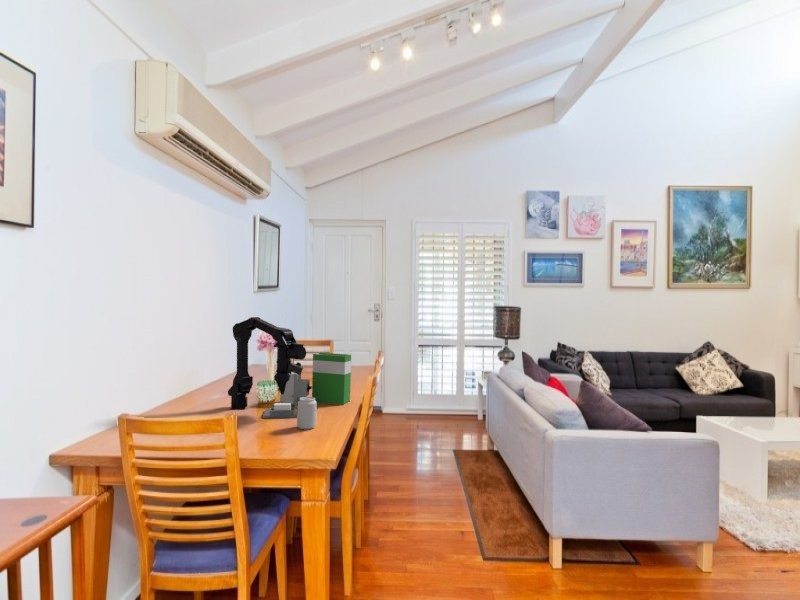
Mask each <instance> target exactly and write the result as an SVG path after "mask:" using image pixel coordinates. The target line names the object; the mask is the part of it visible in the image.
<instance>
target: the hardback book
mask: <svg viewBox="0 0 800 600" xmlns="http://www.w3.org/2000/svg"><path fill="white" fill-rule="evenodd" d="M351 377H352V354H347V353H335V352H334V353H332V352H330V353H329V352H319V353H313V354H312V379H311V380H312V382H311V383H312V384H311V386H312V389H311V397H314V398H315V401H316V402H317V403H320V404H321V403H322V404H329V405H330V404H331V405H332V404H333V405H339V404H341V406H344V404H345V405H347V404H349V403H351ZM348 402H349V403H348ZM346 403H347V404H346Z"/></svg>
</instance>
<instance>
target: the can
mask: <svg viewBox="0 0 800 600" xmlns="http://www.w3.org/2000/svg"><path fill="white" fill-rule="evenodd" d="M317 404H318V402H316V401H315V398H314V397H312V396H307V397H300V400H299V402H298V404H297V408H298V412H297V418H296V421H297V423H296V426H297V428H299V429H300V430H302V429H304V430H303V431H308V430H312V429H314V428H315V427H316V426H317Z"/></svg>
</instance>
